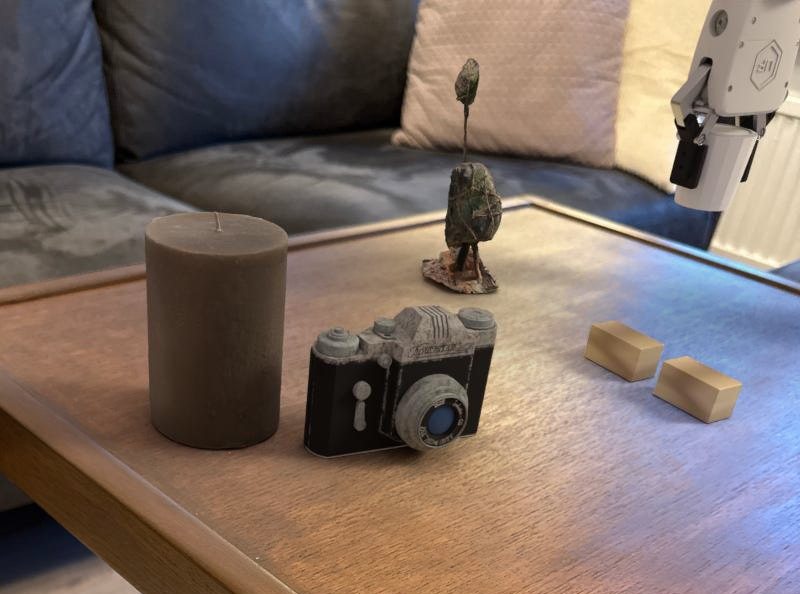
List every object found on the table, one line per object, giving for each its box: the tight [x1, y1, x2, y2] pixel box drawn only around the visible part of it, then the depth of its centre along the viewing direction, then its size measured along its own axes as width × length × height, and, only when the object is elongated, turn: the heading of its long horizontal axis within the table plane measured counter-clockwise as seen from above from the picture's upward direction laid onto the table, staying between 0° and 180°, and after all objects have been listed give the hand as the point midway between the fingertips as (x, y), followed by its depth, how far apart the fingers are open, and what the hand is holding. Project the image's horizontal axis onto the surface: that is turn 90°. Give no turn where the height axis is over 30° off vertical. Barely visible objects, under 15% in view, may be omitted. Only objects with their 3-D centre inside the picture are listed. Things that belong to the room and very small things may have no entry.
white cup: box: [673, 122, 758, 212], centre depth 99 cm, size 7×7×7 cm
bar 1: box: [583, 319, 665, 383], centre depth 87 cm, size 6×3×3 cm, turn 32°
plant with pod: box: [421, 57, 504, 295], centre depth 96 cm, size 8×11×20 cm
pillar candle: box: [144, 210, 289, 450], centre depth 69 cm, size 10×10×15 cm
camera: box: [302, 304, 499, 459], centre depth 70 cm, size 15×7×10 cm, turn 115°
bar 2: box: [652, 355, 744, 424], centre depth 82 cm, size 6×3×3 cm, turn 32°
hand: (708, 181), depth 100 cm, fingers closed on white cup, 6 cm apart
